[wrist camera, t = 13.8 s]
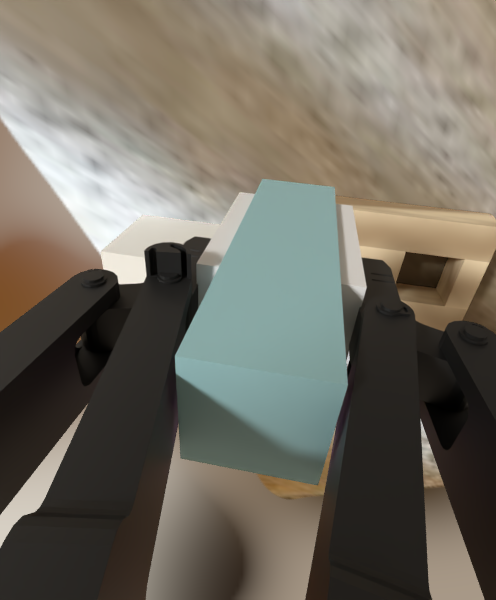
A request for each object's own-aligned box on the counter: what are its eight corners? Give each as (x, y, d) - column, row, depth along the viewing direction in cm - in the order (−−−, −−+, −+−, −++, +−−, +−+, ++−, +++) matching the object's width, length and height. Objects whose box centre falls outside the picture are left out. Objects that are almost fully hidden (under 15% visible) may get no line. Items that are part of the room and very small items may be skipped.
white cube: (143, 214, 35) (100, 251, 28) (227, 225, 34) (204, 266, 28) (149, 288, 39) (114, 335, 33) (224, 299, 39) (204, 350, 32)
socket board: (288, 190, 32) (285, 201, 29) (490, 213, 30) (505, 228, 27) (275, 291, 37) (272, 308, 35) (445, 316, 35) (455, 336, 33)
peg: (262, 179, 17) (174, 356, 7) (334, 187, 17) (347, 385, 7) (257, 244, 19) (180, 458, 9) (321, 252, 18) (317, 485, 9)
